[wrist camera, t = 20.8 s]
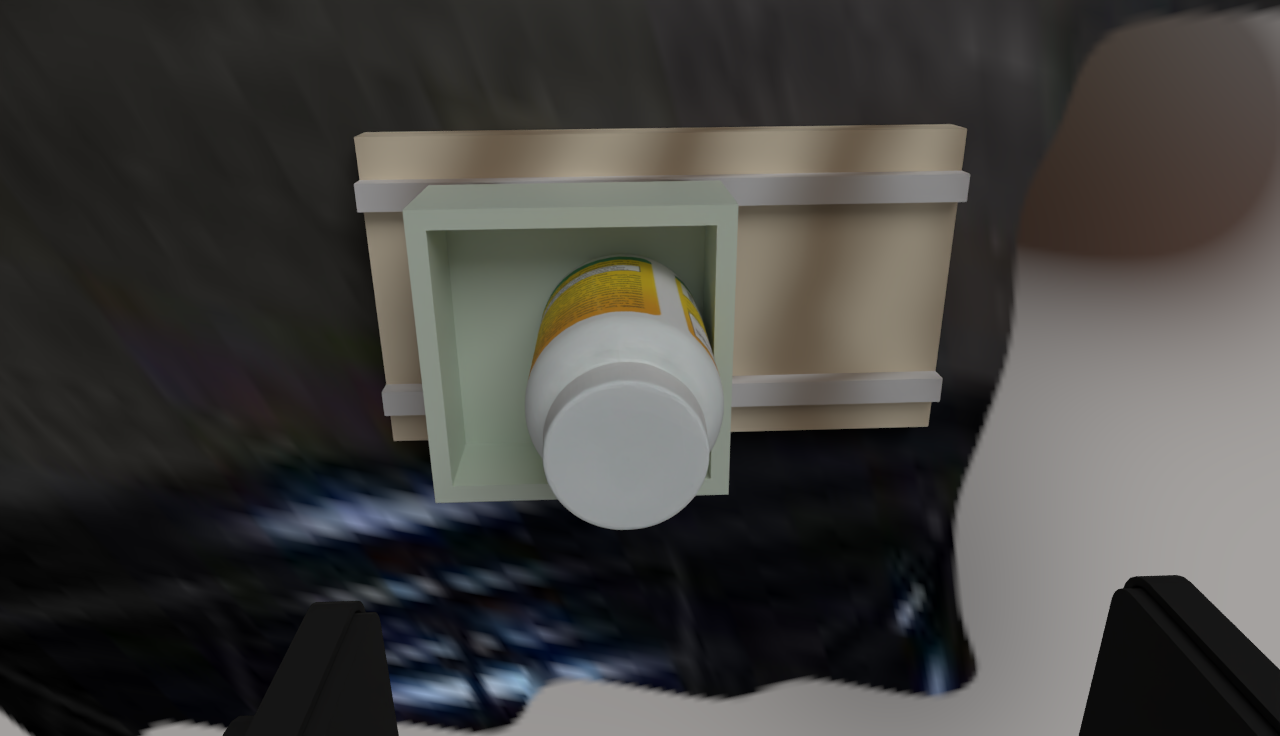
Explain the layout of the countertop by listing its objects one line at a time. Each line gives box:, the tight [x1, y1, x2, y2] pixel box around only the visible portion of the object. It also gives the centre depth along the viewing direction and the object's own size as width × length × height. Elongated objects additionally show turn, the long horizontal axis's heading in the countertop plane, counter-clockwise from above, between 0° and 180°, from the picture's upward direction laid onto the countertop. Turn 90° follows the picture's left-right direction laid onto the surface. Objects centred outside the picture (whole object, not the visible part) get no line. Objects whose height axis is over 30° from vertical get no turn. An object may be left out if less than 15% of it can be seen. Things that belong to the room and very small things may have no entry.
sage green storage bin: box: [402, 180, 738, 503], centre depth 29 cm, size 10×10×6 cm
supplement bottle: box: [525, 254, 724, 530], centre depth 25 cm, size 5×5×10 cm
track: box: [354, 124, 970, 441], centre depth 33 cm, size 22×12×2 cm, turn 91°
